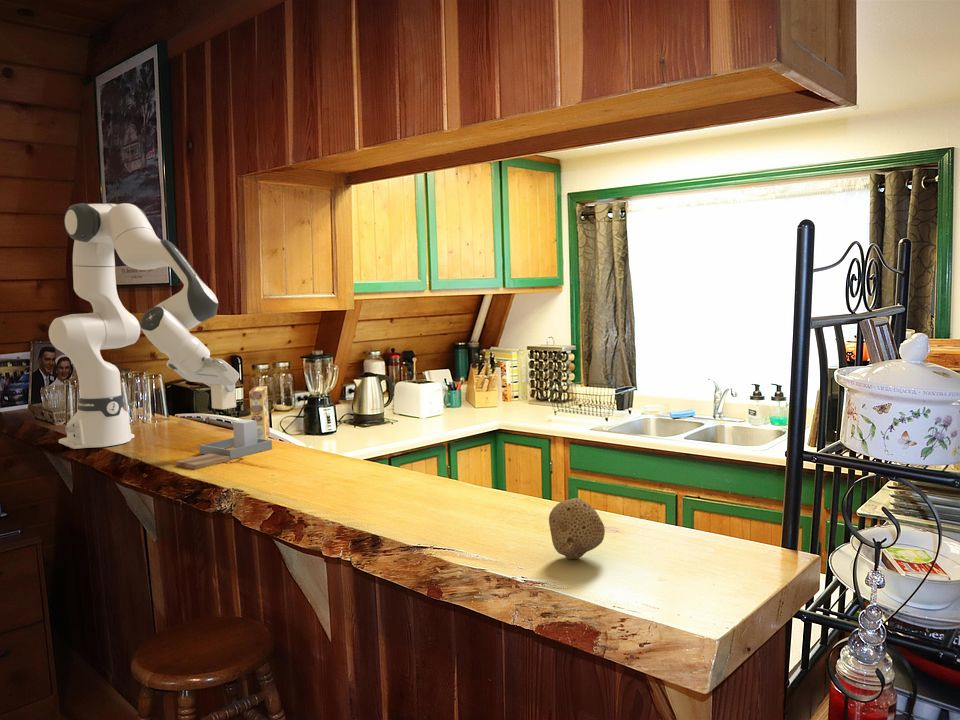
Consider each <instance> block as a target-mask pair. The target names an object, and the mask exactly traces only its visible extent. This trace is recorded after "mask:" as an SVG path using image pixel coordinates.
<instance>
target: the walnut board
mask: <svg viewBox="0 0 960 720" xmlns="http://www.w3.org/2000/svg"><path fill="white" fill-rule="evenodd" d="M227 461H228V462H230V461H231V459H230V457H229V456H223V455H217V454H211V453H210V454H205V455H202V454H200V455H198V456H192V457H189V458H185V459H181V460H176V461H175V465H176V467H180V468H185V469H190V470H195V469H196V470H199V469H198V468H200V469H203V468H202V467H204V468H207V467H206V466H208V467H210V466H209V465H212V466H214V465H213V464H216V465H218V464H217V463H220V464H223V463H222V462H224V463H227Z"/></svg>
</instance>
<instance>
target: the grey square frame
mask: <svg viewBox="0 0 960 720" xmlns="http://www.w3.org/2000/svg"><path fill="white" fill-rule="evenodd" d="M231 446H234V437H230V438H225V439H221V440H220V439H219V440H216V441H213V442H208V443H203V444H199V445H198V449H199V450H198V451H199V455H202V454H204V455H205V454H210V453H211V454H217V455H223V456H229V457H230V460H234V459H237V457H238V458H241V456H242V457H245V456H249V455H253V454H258V453H261V452H260V451H262V452H265V451H264V450H266V451H269V450H268V449H270V450H273V440H272V439H268V438H267V439H260V438H258V443H256V444H251V445H247V446H243V447H239V448H235V446H234V447H233V448H232V447H231ZM227 447H230V448H231V449H230V448H227ZM224 448H226V449H224ZM257 452H258V453H257ZM233 458H234V459H233Z"/></svg>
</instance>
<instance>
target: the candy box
mask: <svg viewBox="0 0 960 720" xmlns="http://www.w3.org/2000/svg"><path fill="white" fill-rule="evenodd" d="M248 392H249V393H248V395H249V409H250V420H255V421H257V438H260V439H267V440H268V439H269V437H270V436H271V432H270V431H271V429H270V417H269V416H270V415H269V401H268V399H269V398H268V386H254V387H253V388H251V389H250V390H249V391H248Z"/></svg>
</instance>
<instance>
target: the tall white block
mask: <svg viewBox="0 0 960 720" xmlns="http://www.w3.org/2000/svg"><path fill="white" fill-rule="evenodd" d="M232 426H233V430H232V431H233V438H234V448H239V447H243V446H247V445H251V444H256V443H258V438H257V421H255V420H251V419H241V420H236V421H232Z"/></svg>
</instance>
